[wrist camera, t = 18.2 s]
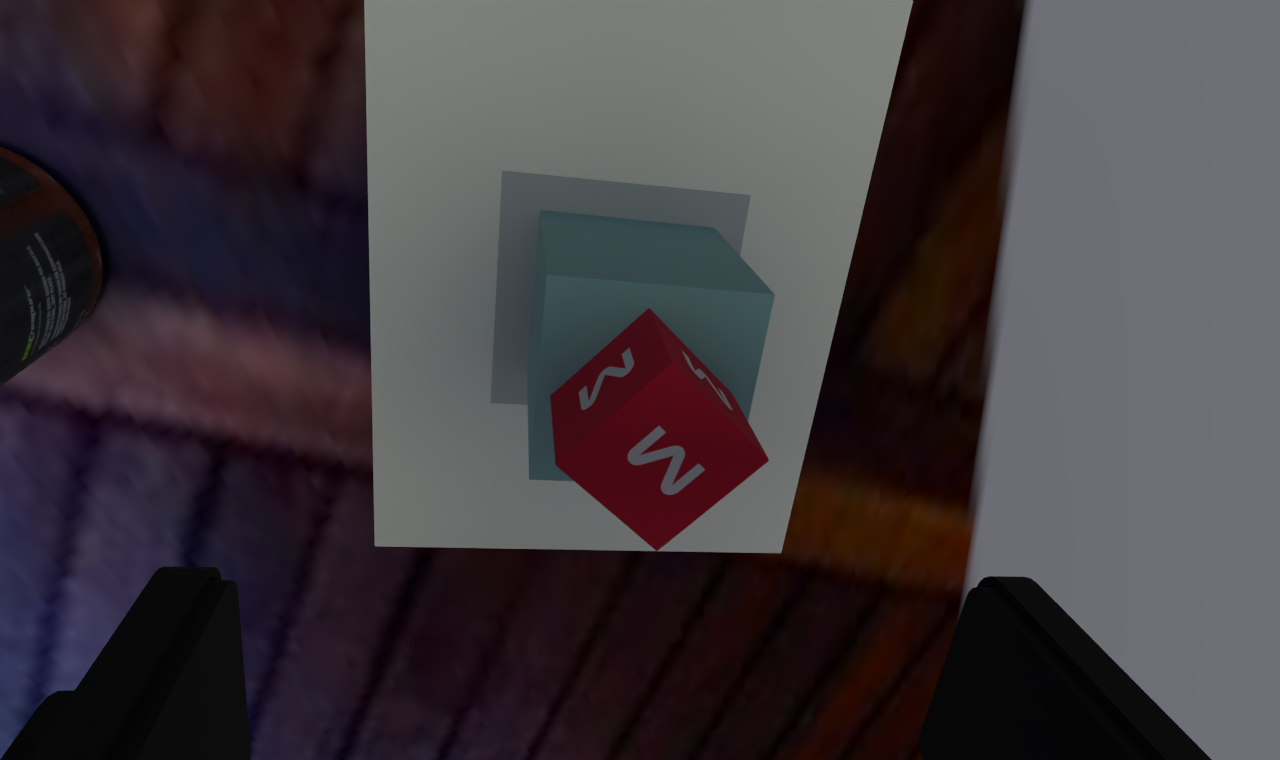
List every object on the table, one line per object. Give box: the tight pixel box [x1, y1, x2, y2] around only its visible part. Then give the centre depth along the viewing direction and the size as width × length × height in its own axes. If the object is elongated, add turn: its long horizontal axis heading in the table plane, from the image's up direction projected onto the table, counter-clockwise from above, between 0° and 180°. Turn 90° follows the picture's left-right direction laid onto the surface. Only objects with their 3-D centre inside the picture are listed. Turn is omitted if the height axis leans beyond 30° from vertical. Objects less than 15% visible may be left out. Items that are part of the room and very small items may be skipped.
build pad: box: [364, 0, 913, 553], centre depth 24 cm, size 18×14×1 cm
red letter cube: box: [550, 309, 769, 551], centre depth 16 cm, size 3×3×3 cm
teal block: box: [527, 210, 775, 481], centre depth 20 cm, size 5×5×6 cm
